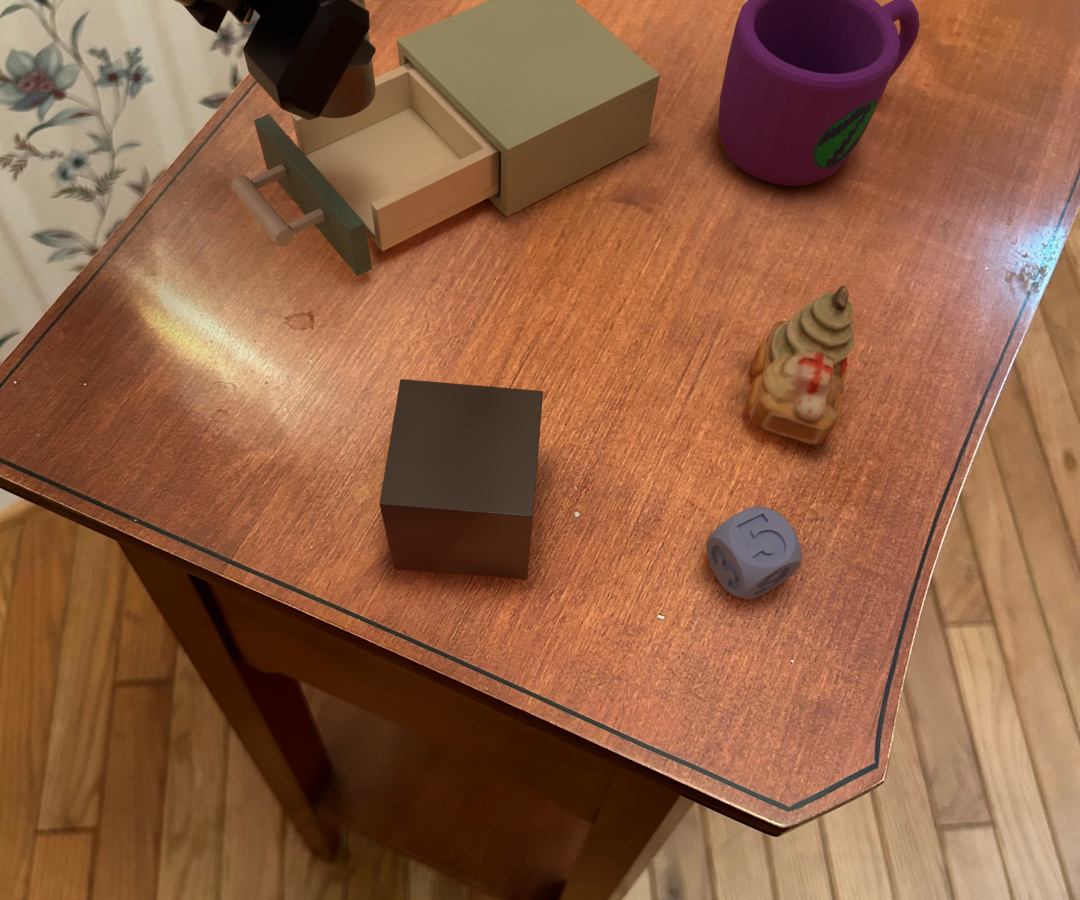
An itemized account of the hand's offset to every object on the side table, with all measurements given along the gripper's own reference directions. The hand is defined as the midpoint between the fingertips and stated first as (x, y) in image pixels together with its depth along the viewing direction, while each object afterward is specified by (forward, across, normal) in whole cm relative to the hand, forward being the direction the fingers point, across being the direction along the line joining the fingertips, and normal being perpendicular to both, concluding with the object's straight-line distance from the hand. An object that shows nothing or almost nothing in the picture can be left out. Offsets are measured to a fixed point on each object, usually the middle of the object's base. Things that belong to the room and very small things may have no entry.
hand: (347, 32), depth 57 cm
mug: (+32, -13, -13) cm, 37 cm away
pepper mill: (+2, 0, +4) cm, 4 cm away
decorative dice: (+11, -38, +8) cm, 41 cm away
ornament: (+19, -31, 0) cm, 36 cm away
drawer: (+8, 0, +9) cm, 13 cm away
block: (+3, -25, +16) cm, 30 cm away
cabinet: (+19, 0, 0) cm, 19 cm away
